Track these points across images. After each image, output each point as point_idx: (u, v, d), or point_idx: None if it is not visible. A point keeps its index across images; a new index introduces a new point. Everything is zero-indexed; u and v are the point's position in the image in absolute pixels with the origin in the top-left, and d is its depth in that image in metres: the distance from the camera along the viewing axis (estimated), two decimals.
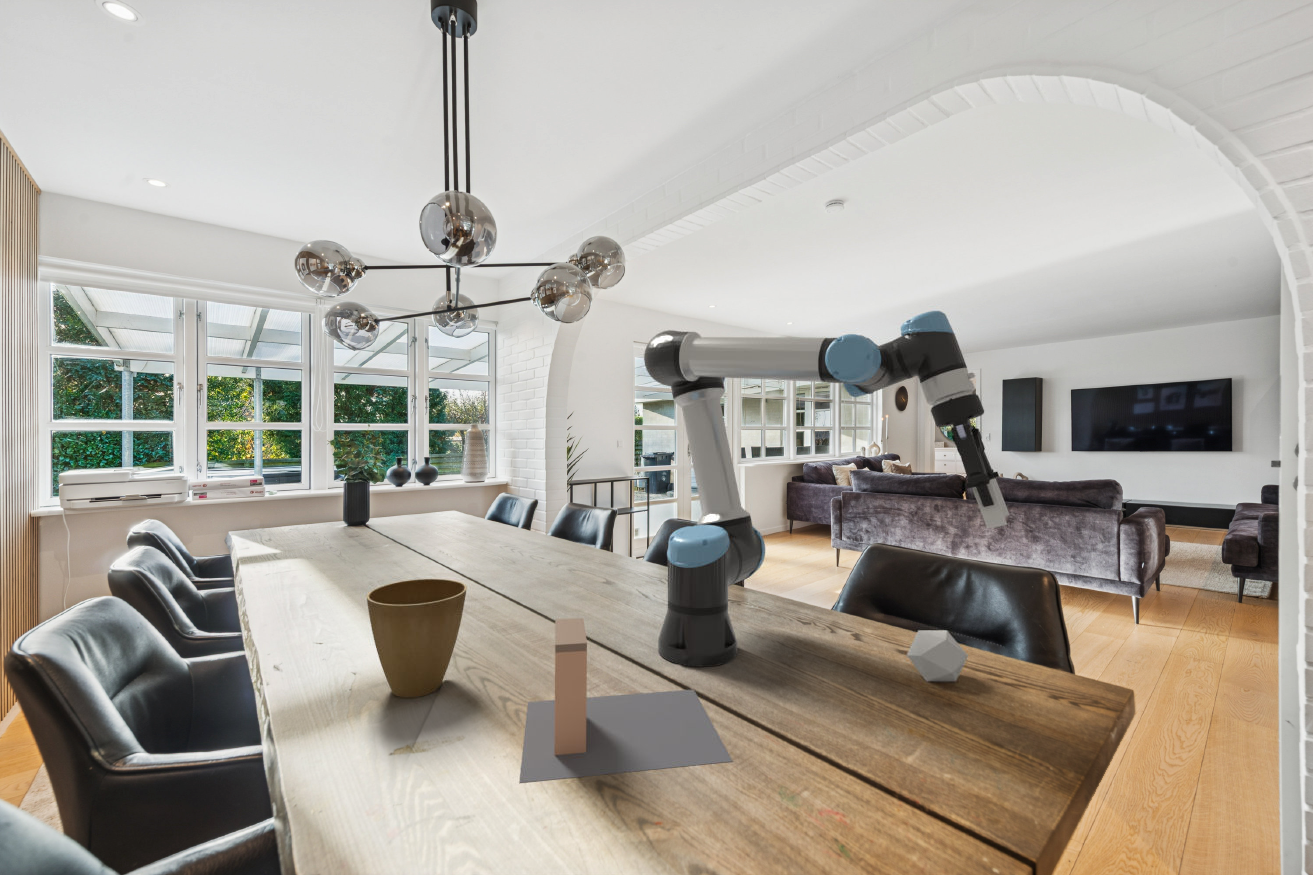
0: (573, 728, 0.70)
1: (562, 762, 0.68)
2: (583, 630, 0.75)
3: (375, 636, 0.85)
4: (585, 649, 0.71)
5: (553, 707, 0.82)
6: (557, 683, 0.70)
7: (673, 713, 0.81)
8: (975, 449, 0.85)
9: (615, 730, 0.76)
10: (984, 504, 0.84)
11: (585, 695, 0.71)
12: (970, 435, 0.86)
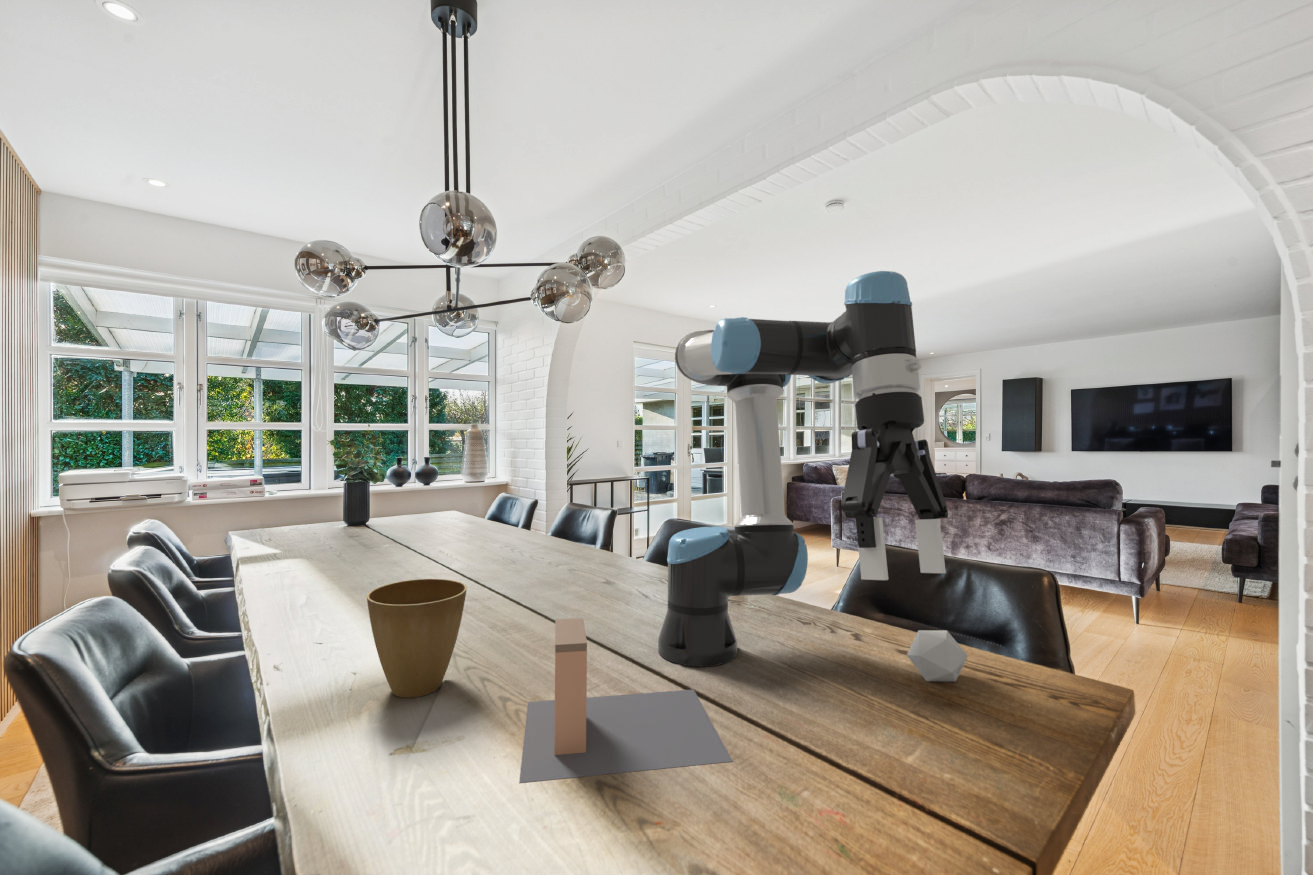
0: (573, 728, 0.70)
1: (562, 762, 0.68)
2: (583, 630, 0.75)
3: (375, 636, 0.85)
4: (585, 649, 0.71)
5: (553, 707, 0.82)
6: (557, 683, 0.70)
7: (673, 713, 0.81)
8: (866, 465, 0.60)
9: (615, 730, 0.76)
10: (860, 544, 0.59)
11: (585, 695, 0.71)
12: (869, 446, 0.61)
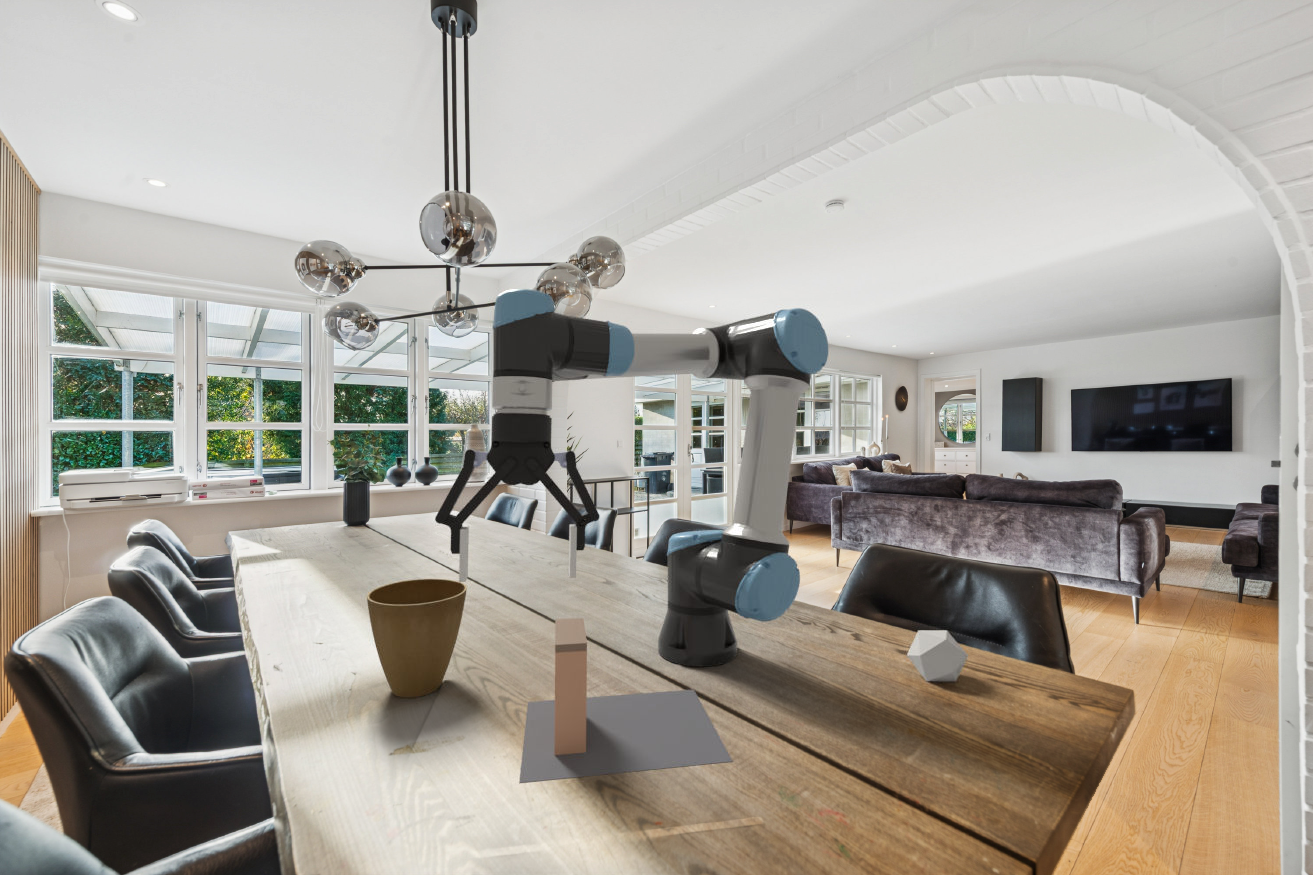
0: (573, 728, 0.70)
1: (562, 762, 0.68)
2: (583, 630, 0.75)
3: (375, 636, 0.85)
4: (585, 649, 0.71)
5: (553, 707, 0.82)
6: (557, 683, 0.70)
7: (673, 713, 0.81)
8: (453, 484, 0.68)
9: (615, 730, 0.76)
10: None
11: (585, 695, 0.71)
12: (463, 465, 0.69)
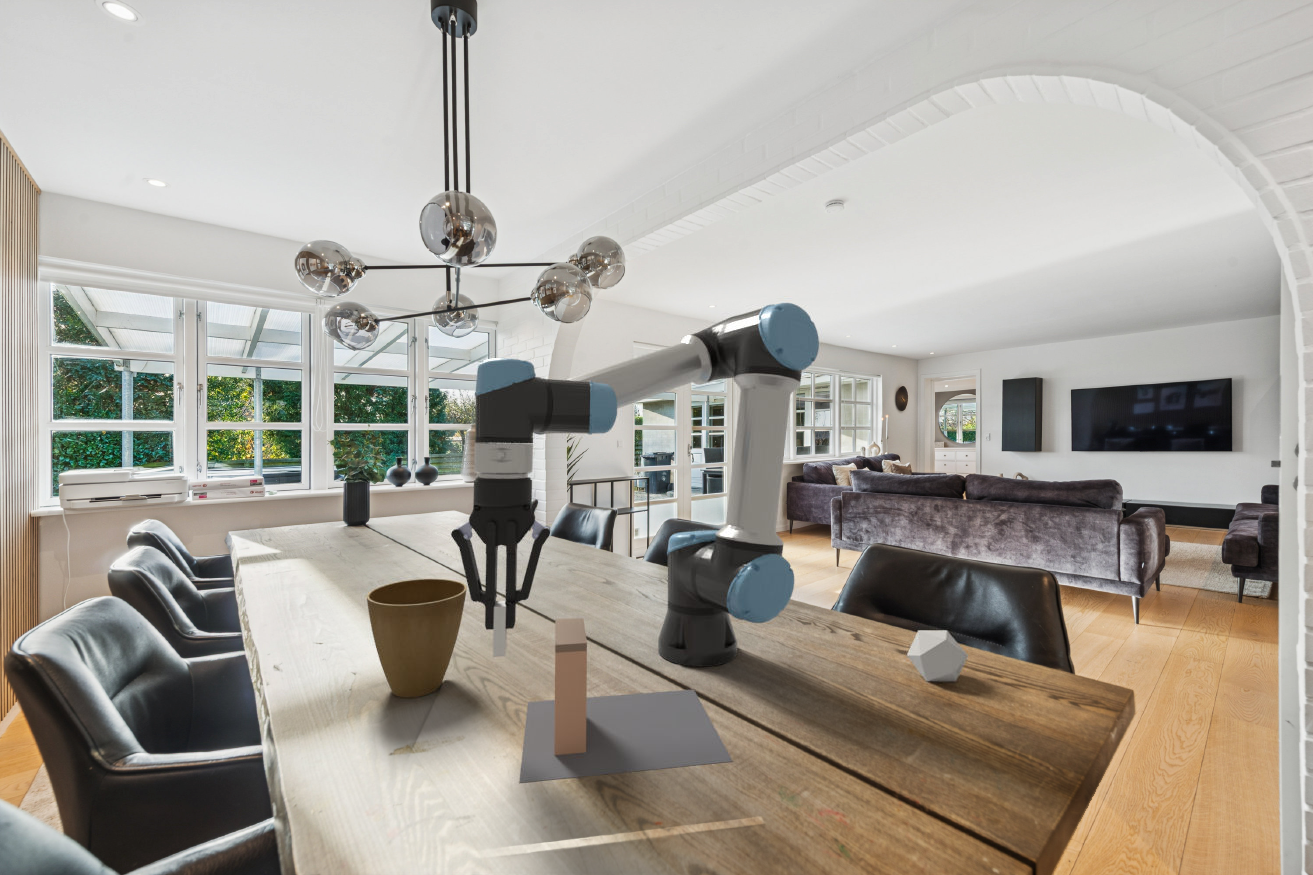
0: (573, 728, 0.70)
1: (562, 762, 0.68)
2: (583, 630, 0.75)
3: (375, 636, 0.85)
4: (585, 649, 0.71)
5: (553, 707, 0.82)
6: (557, 683, 0.70)
7: (673, 713, 0.81)
8: None
9: (615, 730, 0.76)
10: None
11: (585, 695, 0.71)
12: None
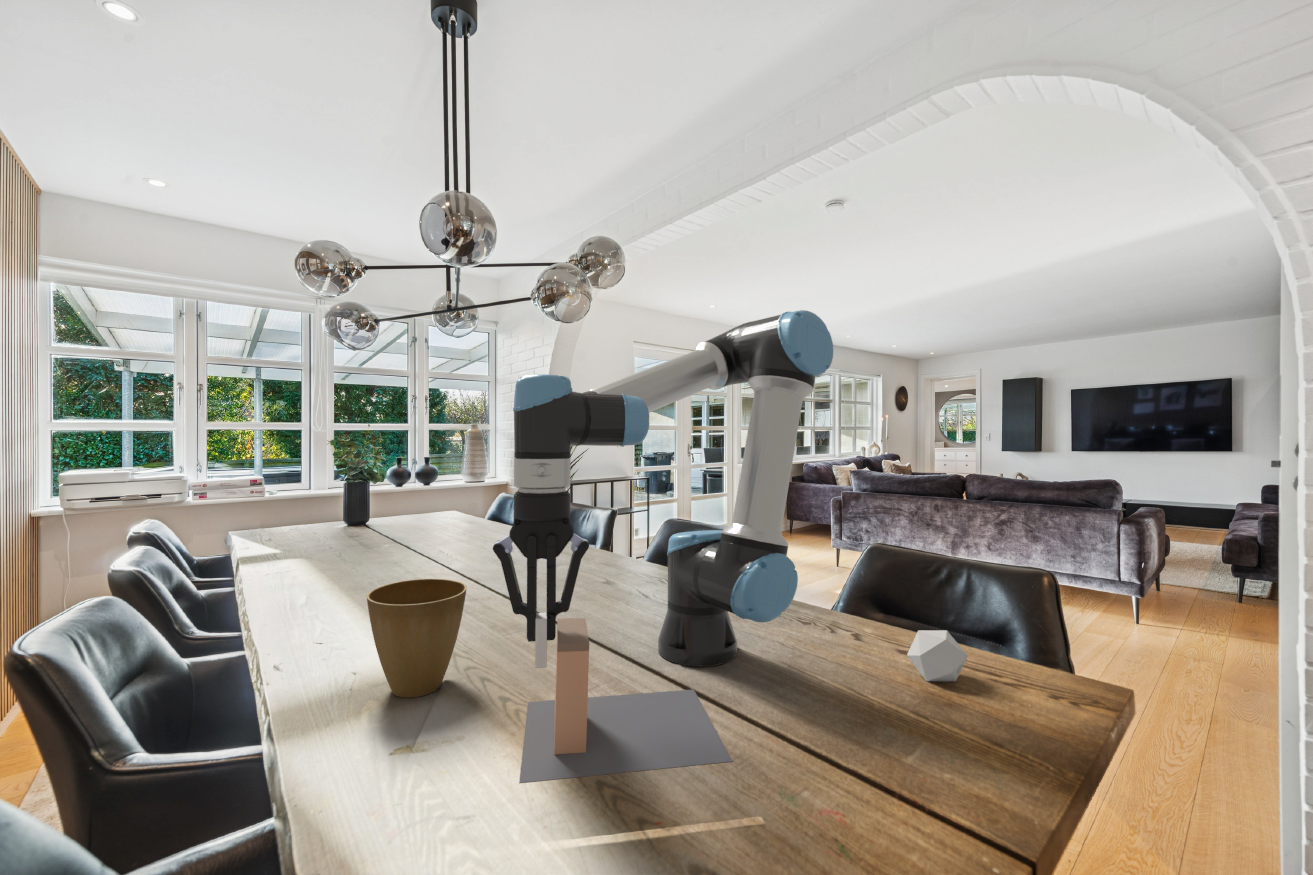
0: (574, 727, 0.70)
1: (562, 762, 0.68)
2: (585, 630, 0.75)
3: (375, 636, 0.85)
4: (587, 649, 0.71)
5: (553, 707, 0.82)
6: (559, 682, 0.70)
7: (673, 713, 0.81)
8: (505, 578, 0.73)
9: (615, 730, 0.76)
10: None
11: (586, 695, 0.71)
12: (500, 560, 0.73)
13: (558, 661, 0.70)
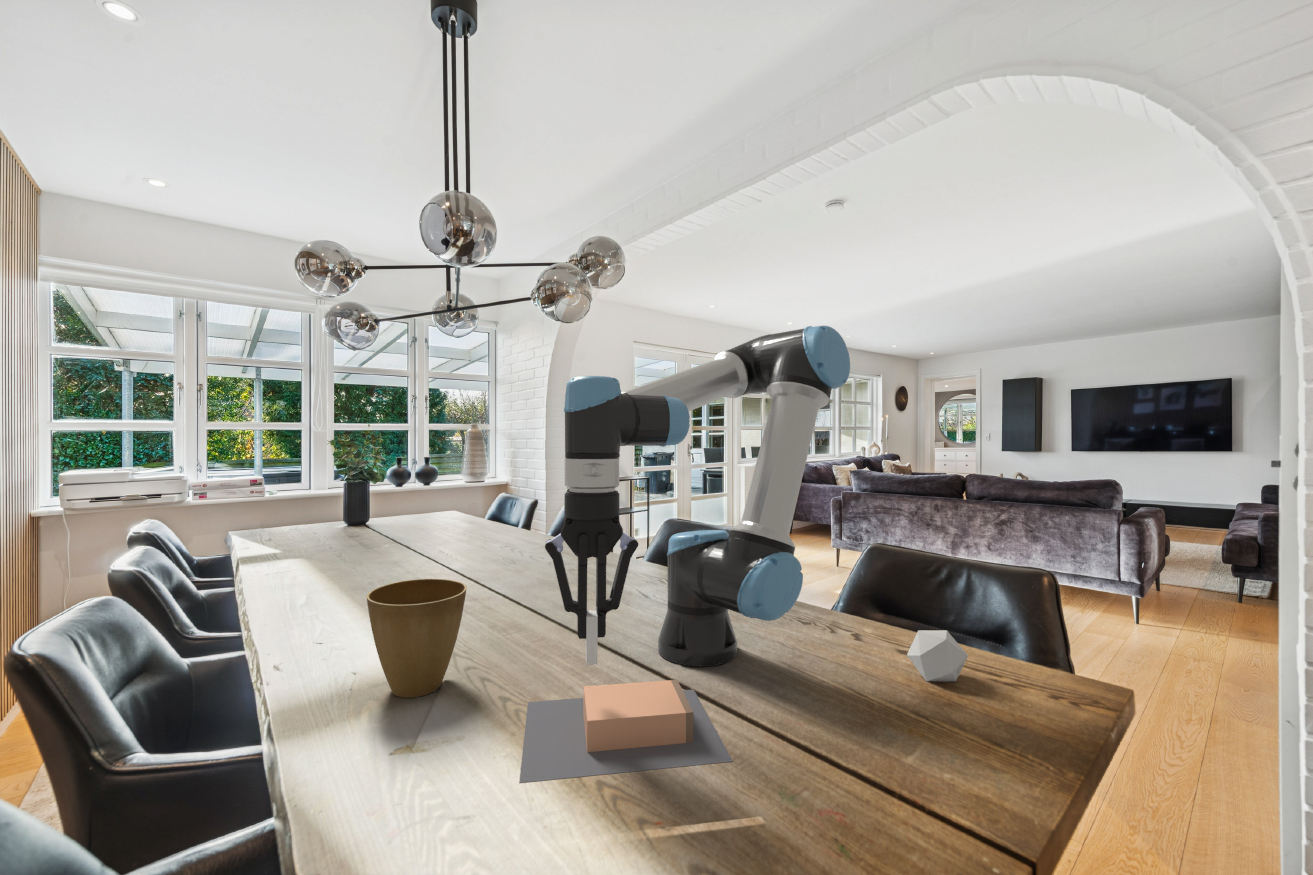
0: (612, 737, 0.71)
1: (562, 762, 0.68)
2: None
3: (375, 636, 0.85)
4: (687, 741, 0.73)
5: (553, 707, 0.82)
6: (657, 717, 0.72)
7: None
8: (557, 576, 0.74)
9: None
10: None
11: (643, 745, 0.72)
12: (552, 558, 0.74)
13: (677, 714, 0.73)
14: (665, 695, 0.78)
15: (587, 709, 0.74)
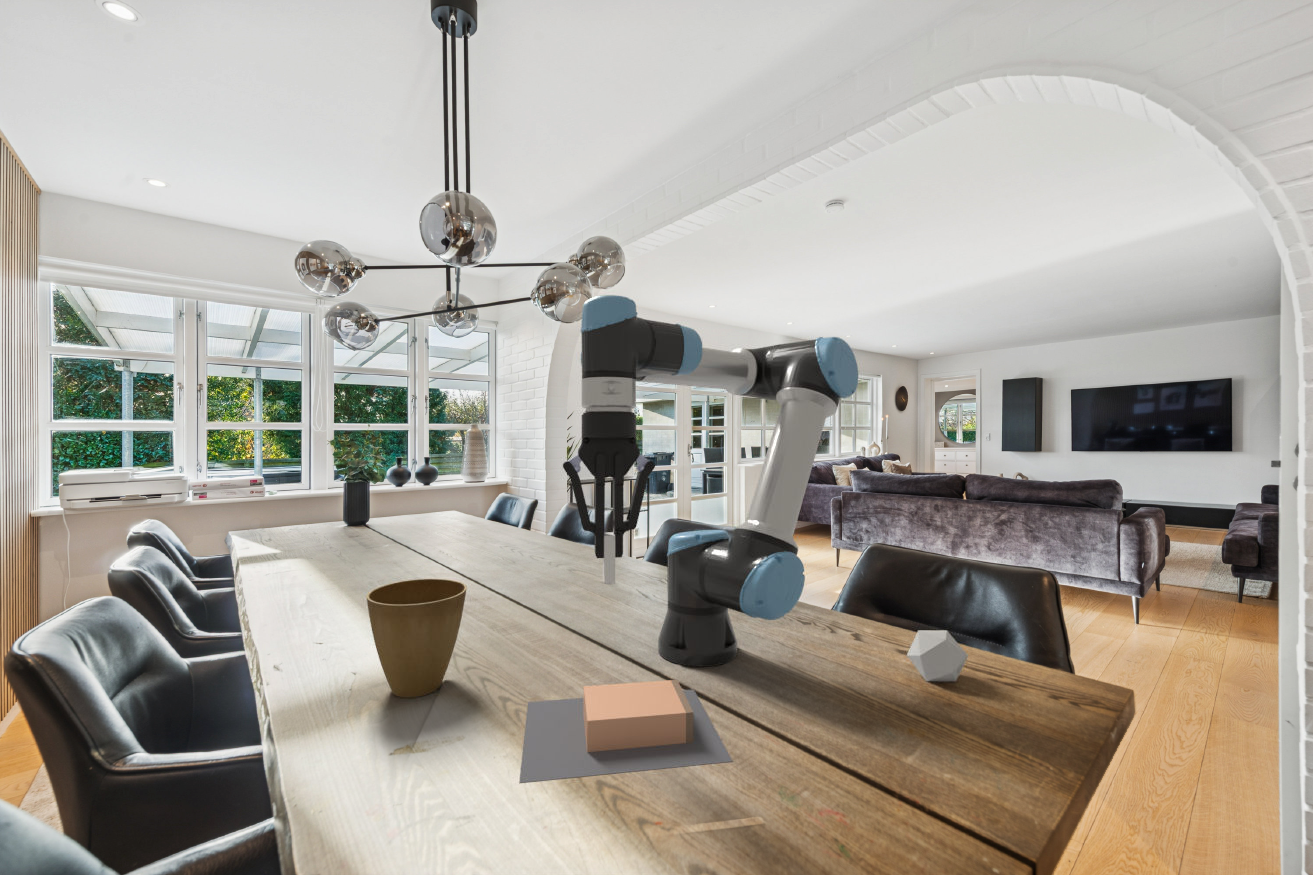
0: (612, 737, 0.71)
1: (562, 762, 0.68)
2: None
3: (375, 636, 0.85)
4: (687, 741, 0.73)
5: (553, 707, 0.82)
6: (657, 717, 0.72)
7: None
8: None
9: None
10: None
11: (643, 745, 0.72)
12: None
13: (677, 714, 0.73)
14: (665, 695, 0.78)
15: (587, 709, 0.74)
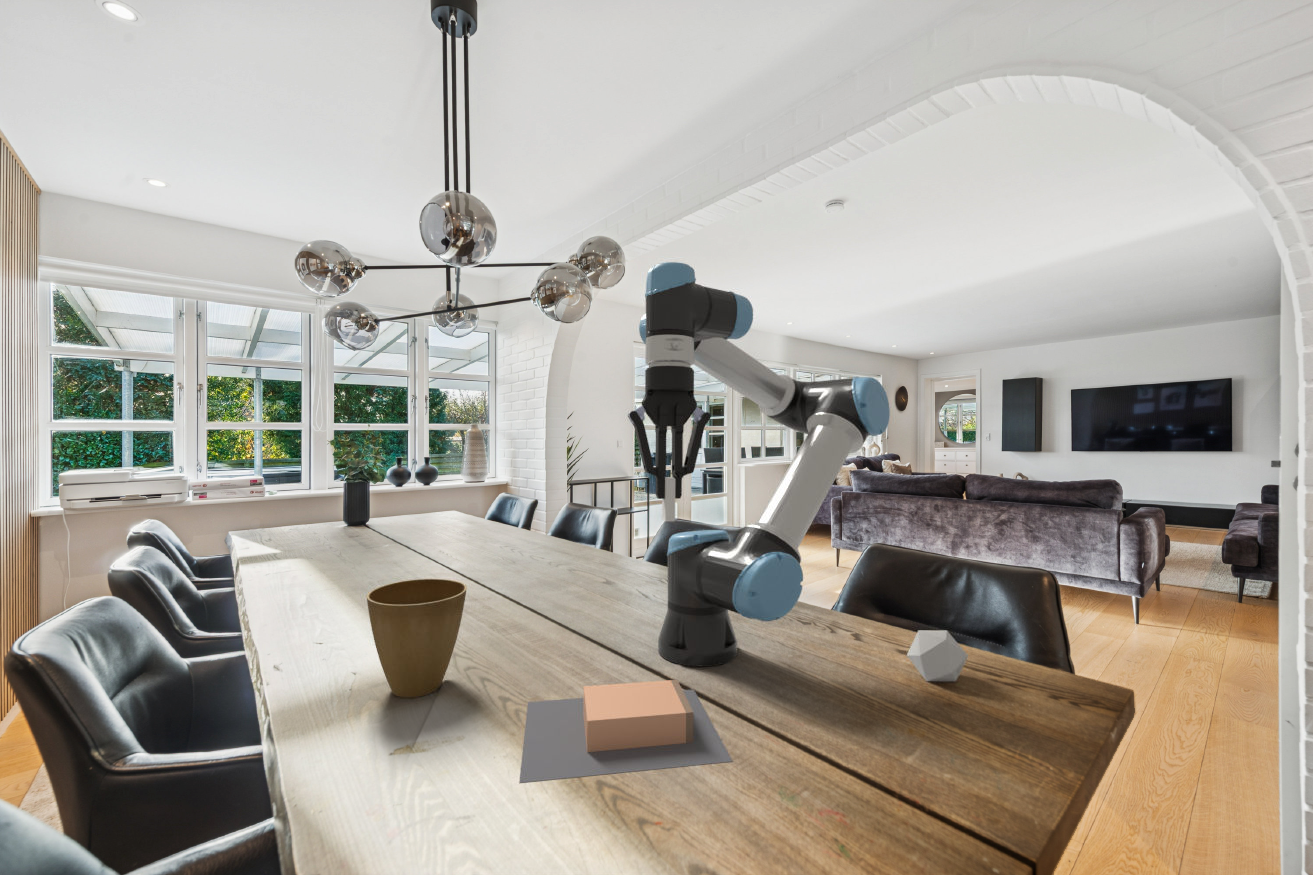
0: (612, 737, 0.71)
1: (562, 762, 0.68)
2: None
3: (375, 636, 0.85)
4: (687, 741, 0.73)
5: (553, 707, 0.82)
6: (657, 717, 0.72)
7: None
8: (639, 441, 0.83)
9: None
10: (656, 495, 0.85)
11: (643, 745, 0.72)
12: (635, 425, 0.83)
13: (677, 714, 0.73)
14: (665, 695, 0.78)
15: (587, 709, 0.74)
